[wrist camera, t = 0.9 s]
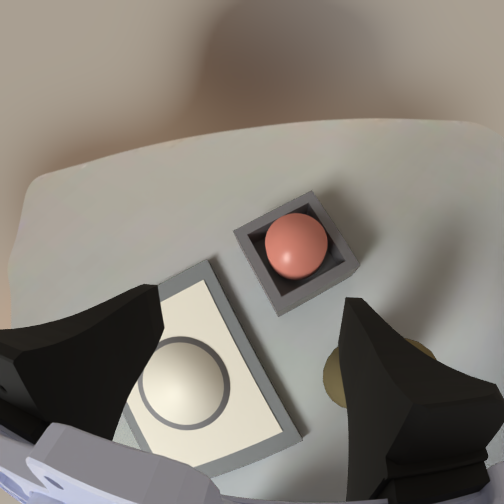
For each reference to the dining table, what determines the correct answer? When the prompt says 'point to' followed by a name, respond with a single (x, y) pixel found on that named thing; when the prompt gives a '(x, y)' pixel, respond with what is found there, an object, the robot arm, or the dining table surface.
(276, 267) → the button
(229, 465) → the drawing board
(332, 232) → the button base
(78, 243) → the dining table surface
